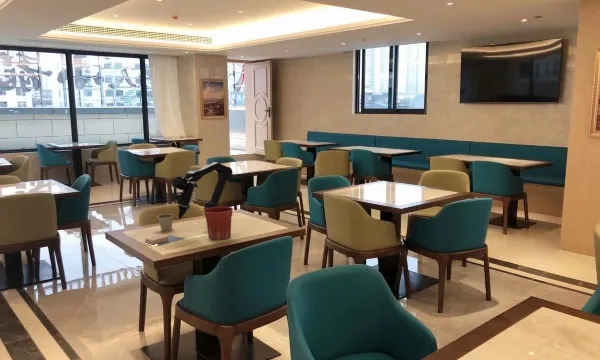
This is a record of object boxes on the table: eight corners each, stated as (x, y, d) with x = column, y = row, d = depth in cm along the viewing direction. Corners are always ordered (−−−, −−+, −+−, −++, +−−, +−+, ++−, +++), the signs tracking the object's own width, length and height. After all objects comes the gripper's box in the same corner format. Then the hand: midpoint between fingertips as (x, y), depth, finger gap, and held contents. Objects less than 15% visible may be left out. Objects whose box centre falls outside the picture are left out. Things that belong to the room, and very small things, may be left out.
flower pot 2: (230, 232, 288) (229, 205, 286) (237, 239, 273) (236, 210, 270) (202, 235, 282) (201, 208, 280) (208, 242, 267) (206, 213, 265)
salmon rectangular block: (160, 234, 275) (145, 238, 268) (168, 236, 271) (152, 240, 263) (161, 239, 276) (145, 243, 268) (168, 241, 271) (152, 245, 264)
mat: (170, 235, 285) (170, 234, 284) (185, 239, 275) (185, 238, 275) (139, 243, 270) (139, 242, 269) (154, 248, 260) (154, 247, 260)
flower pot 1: (172, 231, 294) (171, 217, 293) (156, 232, 294) (155, 217, 293) (176, 227, 303) (175, 214, 302) (161, 228, 304) (160, 214, 302)
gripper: (175, 190, 291) (167, 216, 288) (172, 186, 273) (163, 213, 270) (193, 195, 292) (185, 221, 289) (192, 192, 274) (183, 219, 271)
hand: (179, 218), depth 280 cm, fingers closed
